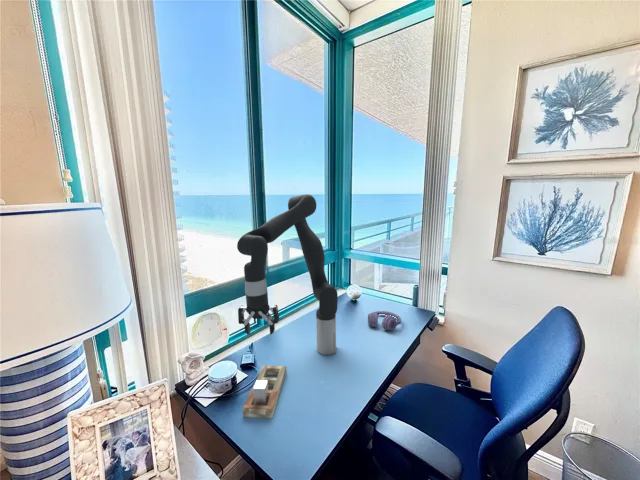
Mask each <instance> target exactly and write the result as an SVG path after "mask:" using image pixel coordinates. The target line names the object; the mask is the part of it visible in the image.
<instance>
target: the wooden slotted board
mask: <svg viewBox="0 0 640 480" xmlns="http://www.w3.org/2000/svg"><path fill="white" fill-rule="evenodd" d="M268 375H269V376H270V375H271V376H276V377H267V376H268ZM286 375H287V366H286V365H269V364H268V365H265V364H263V365H262V366H261V368H260V371H259V372H258V375H257V378H256V380H255V382H254V384H253V386H252V388H251V390H250V392H249V394H248V396H247V398H246V401H245V402H244V405H243V407H242V417H244V418H257V419H258V418H259V419H260V418H262V419H273V416H274V414H275V411H276V407H277V404H278V401H279V398H280V395H281V391H282V388H283V385H284V382H285V378H286ZM257 380H267V381H268V388H272V390H271V389H268V394H269V400H268V403H267V406H264V405H254V394H253V388H254V385H255V383H256V381H257Z"/></svg>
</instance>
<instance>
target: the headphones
mask: <svg viewBox="0 0 640 480" xmlns="http://www.w3.org/2000/svg"><path fill="white" fill-rule="evenodd" d="M379 314H385V315H387V316H383V319H382V322H381V326H382V328H383V330H385V331H388V330H391V332H393V331H394V330H395V329H396V328H397V326H399V325H400V324H402V323H401V322H402V317H400V316H399V315H398V314H396V313H395V312H391V311H386V310H381V311H380V310H379V311H378V310H377V311H372V312H371V313H368V315H367V324H368V326H370V327H371V326H372V328H378V324H379V317H378V316H380V315H379ZM390 315H391V316H390ZM392 316H394V317H396V318H397V319H398V320H397V319H394V317H392Z"/></svg>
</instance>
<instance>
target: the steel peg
mask: <svg viewBox="0 0 640 480" xmlns="http://www.w3.org/2000/svg"><path fill="white" fill-rule="evenodd" d="M255 382H256V383H255ZM255 382H254V384H255V385H254V384H253V386H254V388H253V387H252V388H253V394H254V405H264V406H267V403H268V400H269V394H268V390H269V387H268V381H267V380H257V381H256V380H255Z"/></svg>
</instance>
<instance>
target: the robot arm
mask: <svg viewBox="0 0 640 480" xmlns="http://www.w3.org/2000/svg"><path fill="white" fill-rule="evenodd" d="M287 202H288V203H287V207H288V210H286V211H284V212H282V213H280V214H278V215H276V216H274V217H272V218H270V219H269V220H268V221H266V222H265V223H264V224H261V226H260V227H258V228H255V229H253V230H250V231H248V232H247V233H244V234H243V235H242V236H241V237H240V238H239V239H238V241H237V245H236V248H237V251H238V252H239V253H240V254H242V255H245V256H250V257H251V258H250V261H249V262H247V263H245V264H244V266H243V273H244V292H245V300H246V306H244V305H240V306H239V308H237V309H238V310H237V312H238V313H237V315H238V316H237V317H238V320H237V321H238V324H239V325H241V324H242V325H243V326H244V332H245V334H246V335H247V336H249V335H250V334H251V322H250V321H251V320H252V319H253V320H264V321H265V322H267V323H268V325H269V326H268V327H269V334H270V335H273V334H274V332H275V329H276V328H275V327H276V326H275V324H278V322H279V321H280V315H279V307H278V306H279V305H277V304H274V305H273V306H271V305H269V297H268V295H269V294H268V284H267V279H266V268H265V267H266V262H267V256H268V251H269V250H268V249H269V246H268V244H270V243H272V242H275V241H276V240H277V239H279V237H280V236H282V235H283V234H284V233H285V232H286V231H288V230H289V229H290V228H292V227H294V229H295V230H296V234H297V236H298V240H299V243H300V247H301V251H302V255H303V258H304V261H305V263H306V264H305V265H306V268H307V271H308V273H309V276H310V282H311V287H312V293H313V295H314V297H315V299H316V300H317V301H318V303H319V304H318V305H319V306H318V309H316V313H315V316H316V317H315V321H316V322H315V323H316V325H315V327H316V328H315V329H316V352H318V353H319V354H320V355H323V356H324V355H325V356H329V355H333V354H336V353H337V326H336V325H337V321H336V320H337V319H336V316H337V315H336V314H337V311H338V301H339V300H338V296H339V295H338V291H337V289H336V287H334V286H333V285H331V284H330V282H328V278H327V275H326V273H325V263H326V262H325V261H326V259H325V258H326V256H325V251H324V247H323V243H322V241H321V239H320V238H319V237H318V235H317V234H315V232H314V231H313V230H312V229H311V228H310V226H309V224H308V222H307V218H308V217H310V216H312V215H314V213H316V210H317V200H316V198H315V197H314V195H312V194H300V195H295V196H292V197H290V198H289V199H288V201H287ZM270 311H271V313H272V314H273V317H272V314H271V313H270ZM245 312H247V314H248V317H247V318H245Z"/></svg>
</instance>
